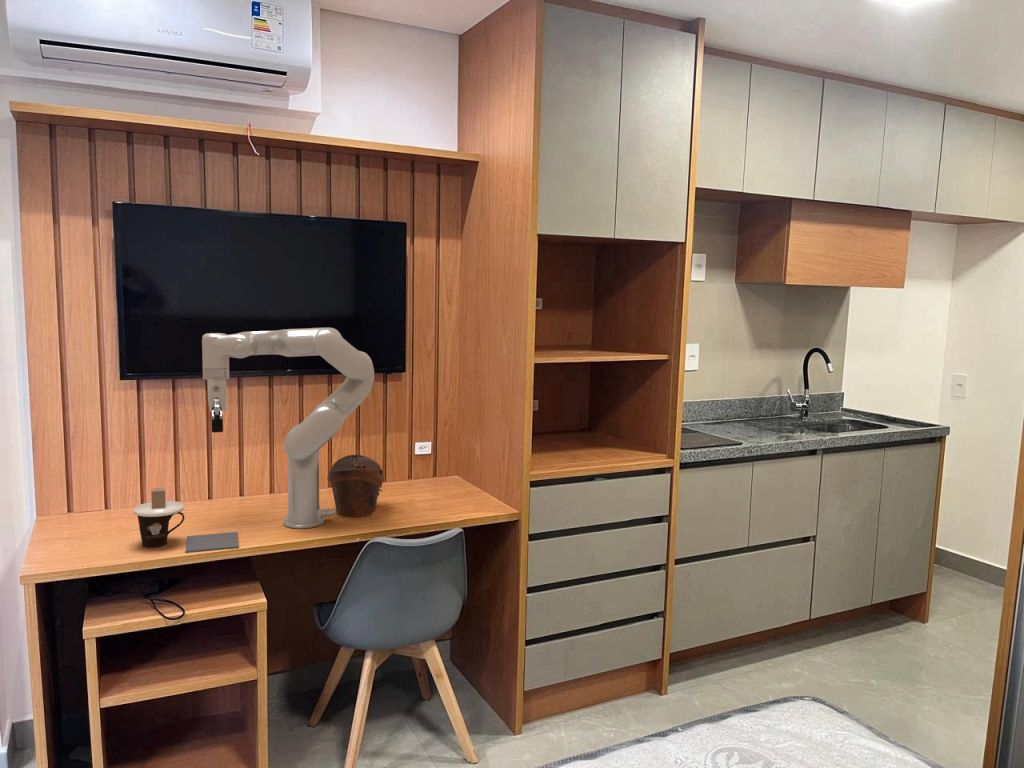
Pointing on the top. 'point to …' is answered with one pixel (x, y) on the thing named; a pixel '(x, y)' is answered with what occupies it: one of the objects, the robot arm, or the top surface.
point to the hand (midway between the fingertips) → (217, 429)
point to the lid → (158, 505)
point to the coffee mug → (155, 530)
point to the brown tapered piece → (355, 485)
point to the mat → (212, 542)
